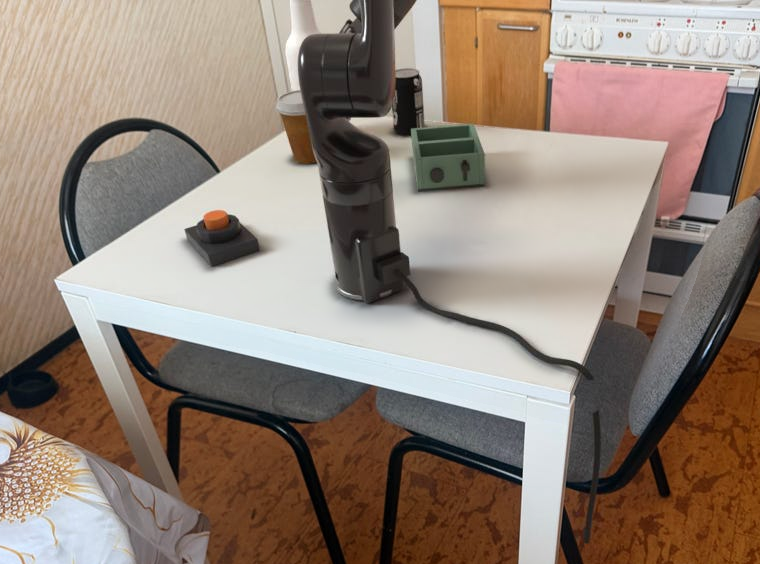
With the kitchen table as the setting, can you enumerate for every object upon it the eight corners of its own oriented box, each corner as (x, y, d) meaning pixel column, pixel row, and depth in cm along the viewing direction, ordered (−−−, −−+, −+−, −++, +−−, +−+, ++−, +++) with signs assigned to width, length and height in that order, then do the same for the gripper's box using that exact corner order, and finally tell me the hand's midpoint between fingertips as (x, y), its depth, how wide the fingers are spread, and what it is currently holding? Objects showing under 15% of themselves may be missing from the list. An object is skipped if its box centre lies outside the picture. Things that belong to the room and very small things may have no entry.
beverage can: (389, 129, 149) (384, 71, 142) (417, 123, 151) (413, 65, 144) (401, 138, 144) (396, 79, 137) (430, 132, 146) (426, 73, 139)
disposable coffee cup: (278, 165, 137) (265, 103, 129) (299, 147, 144) (288, 87, 136) (322, 168, 134) (312, 105, 127) (341, 150, 141) (333, 89, 134)
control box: (260, 251, 109) (254, 228, 107) (211, 267, 106) (204, 244, 104) (234, 226, 117) (228, 204, 114) (187, 241, 113) (180, 218, 111)
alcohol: (345, 140, 145) (323, -21, 127) (303, 147, 144) (275, -16, 125) (337, 127, 152) (316, -28, 134) (297, 133, 150) (270, -23, 132)
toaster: (474, 153, 136) (473, 123, 132) (486, 190, 123) (486, 157, 119) (413, 158, 136) (410, 128, 132) (418, 195, 122) (416, 163, 119)
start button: (232, 225, 109) (230, 215, 108) (210, 232, 107) (208, 222, 106) (224, 217, 111) (221, 207, 110) (202, 224, 110) (199, 214, 108)
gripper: (362, -29, 111) (298, 58, 117) (372, -9, 100) (302, 86, 106) (397, 5, 115) (334, 86, 121) (411, 27, 104) (341, 116, 110)
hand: (320, 86), depth 113 cm, fingers closed on energy drink, 5 cm apart
